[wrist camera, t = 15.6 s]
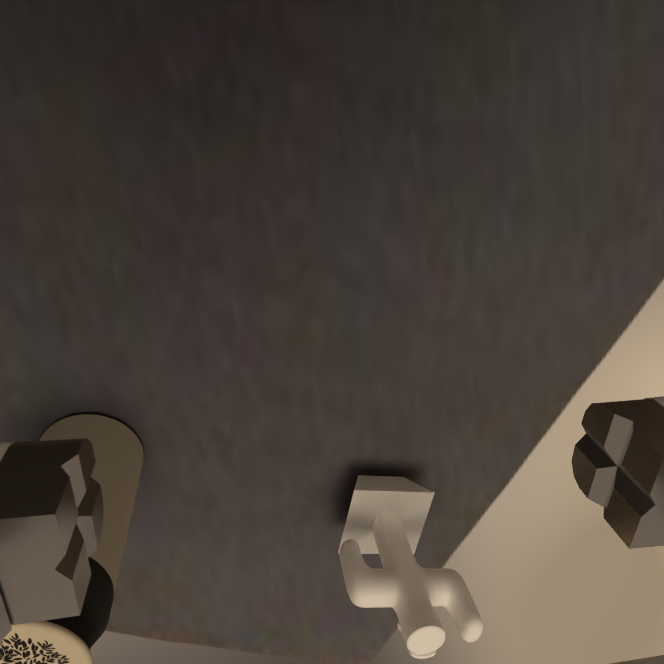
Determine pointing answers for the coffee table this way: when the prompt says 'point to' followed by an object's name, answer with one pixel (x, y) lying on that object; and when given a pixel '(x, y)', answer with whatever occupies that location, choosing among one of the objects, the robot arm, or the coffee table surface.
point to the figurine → (401, 564)
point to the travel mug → (118, 500)
